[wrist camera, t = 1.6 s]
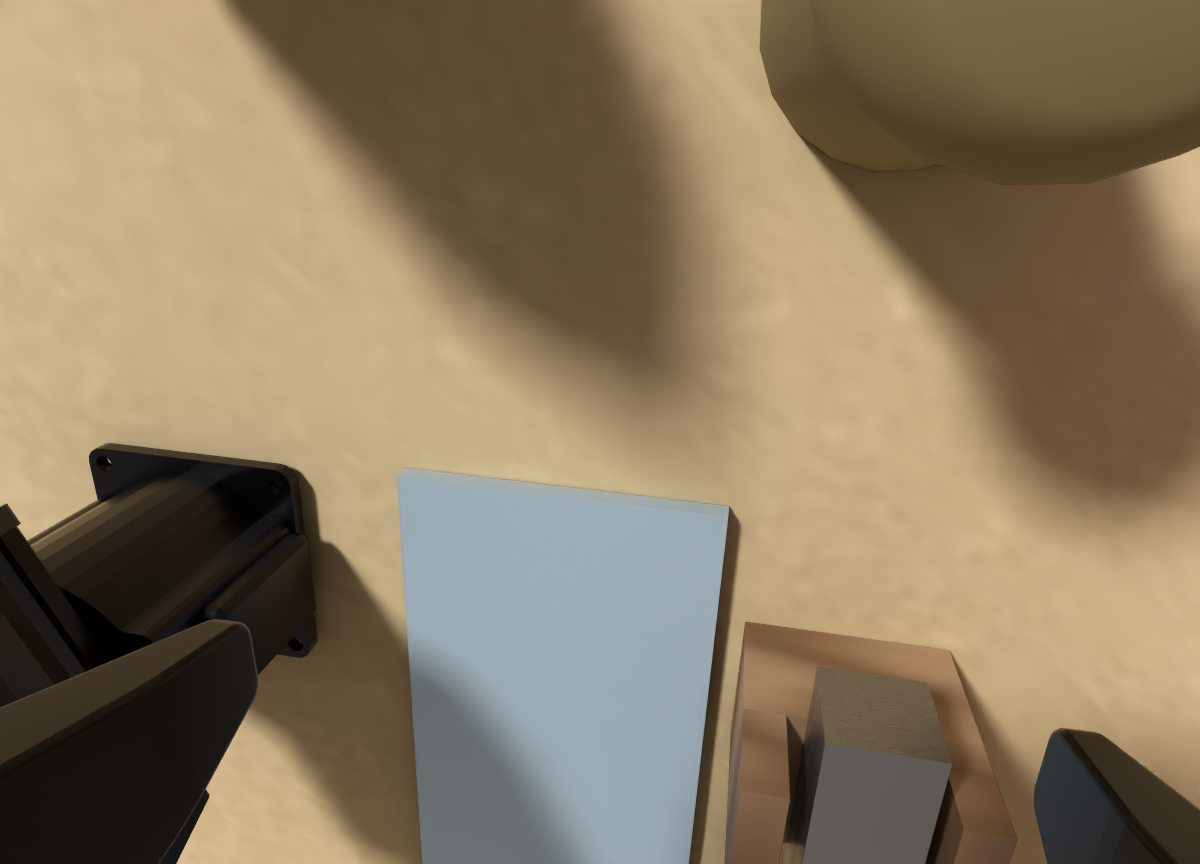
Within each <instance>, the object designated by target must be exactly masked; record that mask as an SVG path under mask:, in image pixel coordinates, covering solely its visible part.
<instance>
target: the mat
mask: <svg viewBox="0 0 1200 864" xmlns="http://www.w3.org/2000/svg"><path fill="white" fill-rule="evenodd" d="M397 484H398V499H399V515H400V530H401V546H402V561H403V576H404V592H405V607H406V622H407V638H408V653H409V668H410V684H411V699H412V714H413V730H414V745H415V761H416V776H417V791H418V807H419V822H420V837H421V853H422V864H689V857H690V848H691V839H692V831H693V822H694V813H695V804H696V796H697V787H698V778H699V769H700V761H701V752H702V743H703V734H704V725H705V717H706V708H707V699H708V690H709V682H710V673H711V664H712V655H713V647H714V638H715V629H716V620H717V612H718V603H719V594H720V585H721V577H722V568H723V559H724V550H725V542H726V533H727V524H728V514H729V506H722V505H714V504H705V503H697V502H689V501H680V500H672V499H663V498H655V497H647V496H638V495H630V494H621V493H613V492H605V491H596V490H588V489H580V488H571V487H563V486H554V485H546V484H538V483H529V482H521V481H513V480H504V479H496V478H487V477H479V476H471V475H462V474H454V473H445V472H437V471H429V470H420V469H412V468H405V469H404V470H403V471H402V472H401V473H400V474H399V475H398V476H397Z"/></svg>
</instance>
